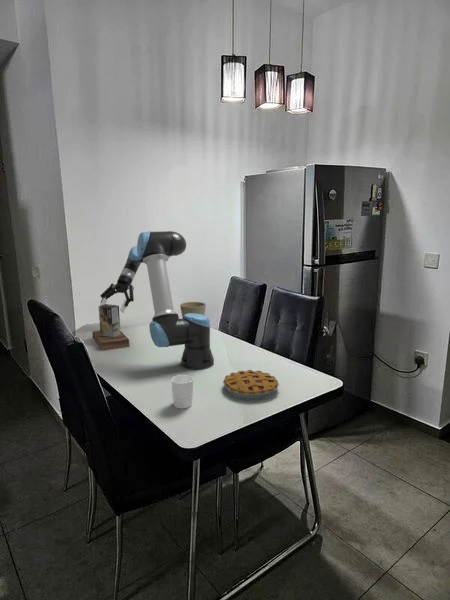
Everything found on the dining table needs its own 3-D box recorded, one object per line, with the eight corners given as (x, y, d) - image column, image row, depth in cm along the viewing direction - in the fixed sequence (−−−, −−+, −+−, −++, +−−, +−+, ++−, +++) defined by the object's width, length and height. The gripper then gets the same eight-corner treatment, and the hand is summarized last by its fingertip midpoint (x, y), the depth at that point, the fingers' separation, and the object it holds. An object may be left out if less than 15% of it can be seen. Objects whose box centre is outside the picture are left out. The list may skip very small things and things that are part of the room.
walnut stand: (129, 346, 213) (129, 339, 212) (102, 350, 206) (101, 343, 205) (117, 334, 233) (117, 327, 232) (92, 337, 227) (92, 331, 226)
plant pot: (210, 329, 244) (210, 303, 240) (196, 335, 231) (195, 308, 228) (190, 325, 252) (190, 300, 248) (175, 331, 239) (174, 305, 236)
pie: (232, 405, 149) (232, 393, 148) (216, 382, 170) (216, 370, 169) (287, 398, 155) (288, 386, 154) (265, 376, 176) (266, 365, 175)
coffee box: (121, 334, 220) (119, 305, 216) (113, 337, 214) (111, 307, 211) (108, 332, 224) (106, 303, 220) (99, 335, 218) (97, 306, 214)
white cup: (194, 399, 154) (193, 374, 152) (193, 409, 146) (192, 383, 144) (173, 399, 153) (172, 374, 151) (171, 409, 146) (170, 383, 144)
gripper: (148, 283, 228) (134, 316, 218) (110, 280, 237) (95, 311, 226) (142, 275, 222) (127, 308, 212) (104, 273, 231) (88, 304, 220)
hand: (111, 310), depth 219 cm, fingers open, 13 cm apart
